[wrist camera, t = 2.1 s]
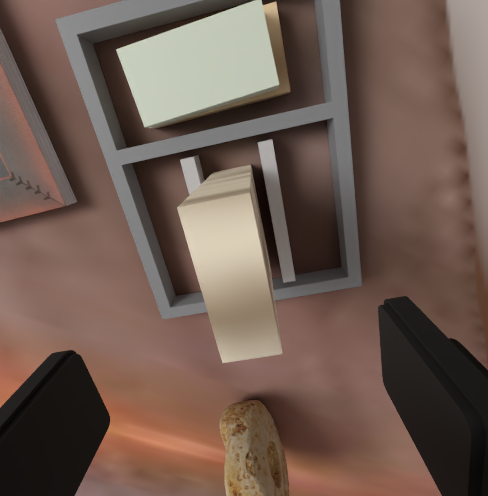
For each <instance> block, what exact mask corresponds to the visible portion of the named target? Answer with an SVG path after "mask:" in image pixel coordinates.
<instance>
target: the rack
mask: <svg viewBox="0 0 488 496" xmlns="http://www.w3.org/2000/svg"><path fill="white" fill-rule="evenodd" d="M251 1H255V0H124V1H120V2H116V3H113V4H109V5H106V6H102V7H99V8H95V9H91V10H88V11H84V12H81V13H77V14H73V15H70V16H66V17H63V18H59V19H56V20H55V21H56V23H57V26H58V29H59V32H60V34H61V37H62V40H63V43H64V46H65V48H66V51H67V54H68V57H69V60H70V62H71V65H72V68H73V71H74V74H75V76H76V79H77V82H78V85H79V87H80V90H81V93H82V96H83V99H84V101H85V104H86V107H87V110H88V113H89V115H90V118H91V121H92V124H93V127H94V129H95V132H96V135H97V138H98V140H99V143H100V146H101V149H102V152H103V154H104V157H105V160H106V163H107V166H108V168H109V171H110V174H111V177H112V180H113V182H114V185H115V188H116V191H117V193H118V196H119V199H120V202H121V205H122V207H123V210H124V213H125V216H126V219H127V221H128V224H129V227H130V230H131V233H132V235H133V238H134V241H135V244H136V246H137V249H138V252H139V255H140V258H141V260H142V263H143V266H144V269H145V272H146V274H147V277H148V280H149V283H150V286H151V288H152V291H153V294H154V297H155V299H156V302H157V305H158V308H159V311H160V313H161V316H162V319H168V318H174V317H180V316H186V315H192V314H198V313H204V312H207V308H206V305H205V301H204V298H203V294H202V291H201V292H195V293H189V294H184V295H178V296H176V295H175V292H174V288H173V285H172V282H171V279H170V276H169V273H168V270H167V267H166V264H165V261H164V258H163V255H162V252H161V249H160V246H159V243H158V240H157V237H156V234H155V231H154V228H153V225H152V222H151V219H150V216H149V213H148V210H147V207H146V203H145V200H144V197H143V194H142V191H141V188H140V185H139V182H138V179H137V176H136V173H135V170H134V167H133V164H132V163H133V162H138V161H142V160H147V159H151V158H156V157H160V156H165V155H169V154H174V153H178V152H183V151H187V150H191V149H196V148H200V147H205V146H209V145H214V144H218V143H223V142H227V141H232V140H236V139H241V138H245V137H250V136H254V135H259V134H263V133H268V132H272V131H277V130H281V129H286V128H290V127H295V126H299V125H304V124H308V123H312V122H317V121H321V120H326V121H327V130H328V140H329V150H330V160H331V169H332V179H333V189H334V199H335V208H336V218H337V228H338V237H339V247H340V257H341V267H338V268H332V269H326V270H321V271H315V272H309V273H303V274H298V275H295V274H294V268H293V262H292V255H291V249H290V243H289V237H288V231H287V225H286V219H285V213H284V207H283V201H282V195H281V189H280V183H279V177H278V171H277V165H276V159H275V152H274V146H273V140H272V139H269V140H264V141H259V142H258V148H259V153H260V159H261V164H262V170H263V175H264V181H265V186H266V192H267V197H268V203H269V208H270V214H271V219H272V225H273V230H274V236H275V241H276V247H277V252H278V258H279V263H280V269H281V274H282V277H281V278H275V279H272V282H273V289H274V297H275V300H281V299H287V298H293V297H299V296H305V295H311V294H317V293H323V292H329V291H335V290H341V289H346V288H352V287H358V286H362V279H361V266H360V253H359V240H358V228H357V215H356V202H355V189H354V176H353V164H352V151H351V138H350V125H349V112H348V100H347V87H346V74H345V61H344V48H343V36H342V23H341V10H340V0H314V4H315V14H316V23H317V33H318V43H319V53H320V62H321V72H322V82H323V91H324V101H325V103H323V104H319V105H314V106H310V107H306V108H301V109H297V110H292V111H288V112H284V113H279V114H275V115H271V116H266V117H262V118H257V119H253V120H249V121H244V122H240V123H236V124H231V125H227V126H222V127H218V128H214V129H209V130H205V131H200V132H196V133H192V134H187V135H183V136H179V137H174V138H170V139H165V140H161V141H157V142H152V143H148V144H144V145H139V146H135V147H130V148H127V146H126V143H125V140H124V137H123V134H122V131H121V128H120V125H119V121H118V118H117V115H116V112H115V109H114V106H113V103H112V100H111V97H110V94H109V91H108V88H107V85H106V82H105V79H104V76H103V73H102V70H101V67H100V64H99V61H98V58H97V55H96V52H95V49H94V46H93V44H94V43H98V42H101V41H105V40H109V39H113V38H116V37H120V36H124V35H128V34H131V33H135V32H139V31H143V30H146V29H150V28H154V27H158V26H161V25H165V24H169V23H173V22H176V21H180V20H184V19H188V18H191V17H195V16H199V15H203V14H206V13H210V12H214V11H218V10H221V9H225V8H229V7H233V6H236V5H240V4H244V3H248V2H251ZM180 162H181V166H182V169H183V173H184V177H185V180H186V184H187V187H188V191H189V195H191V194H192V193H193V192H194V191H195V190H196V189H197V188H198V187H199V186H200V185H201V184H202V183H203V182H204V181H205V179H204V176H203V172H202V168H201V164H200V160H199V156H198V155H196V156H192V157H187V158H184V159H181V160H180Z"/></svg>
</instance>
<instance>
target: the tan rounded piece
mask: <svg viewBox="0 0 488 496" xmlns="http://www.w3.org/2000/svg"><path fill="white" fill-rule="evenodd" d="M220 432H221V436H222V439H223V442H224V445H225V448H226V459H225V489H226V495H227V496H289V481H288V471H287V463H286V459H285V454H284V449H283V446H282V443H281V441H280V438H279V434H278V431H277V428H276V426H275V422H274V420H273V418H272V416H271V415H270V413H269V412H268V410H267V409H266V407H265V406H264V405H263V403H261V402H260V401H258V400H249V401H242V402H238V403H235V404H232V405H230V406H229V407H228V408H226V410H225V411H224V413H223V414H222V416H221V419H220Z"/></svg>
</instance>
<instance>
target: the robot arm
mask: <svg viewBox="0 0 488 496" xmlns="http://www.w3.org/2000/svg"><path fill="white" fill-rule="evenodd" d="M378 314H379V330H380V346H381V361H382V377H383V382H384V386H385V388H386V391H387V393H388V395H389V396H390V398H391V400H392V402H393V404H394V406H395V408H396V410H397V412H398V413H399V415H400V417H401V419H402V421H403V423H404V425H405V427H406V429H407V430H408V432H409V434H410V436H411V438H412V440H413V442H414V444H415V446H416V447H417V449H418V451H419V453H420V455H421V457H422V459H423V461H424V463H425V464H426V466H427V468H428V470H429V472H430V474H431V476H432V478H433V480H434V481H435V483H436V485H437V487H438V489H439V491H440V493H441V495H442V496H488V370H487V369H486V368H485V367H484V366H483V365H482V364H481V363H480V362H479V361H478V360H477V359H476V358H475V357H474V356H473V355H472V354H471V353H470V352H469V351H468V350H467V349H466V348H465V347H464V346H463V345H462V344H461V343H459V342H458V341H457V340H455V339H452V338H450V339H448V338H447V337H446V336H445V335H444V334H443V333H442V332H441V331H440V329H439V328H438V327H437V326H436V325H435V324H434V323H433V322H432V321H431V320H430V319H429V318H428V317H427V316H426V315H425V314H424V313H423V312H422V311H421V310H420V309H419V308H418V307H417V306H416V305H415V304H414V303H413V302H412V301H411V300H410V299H409V298H408V297H407V296H403V297H397V298H391V299H385V300H384V305H380V306H379V307H378ZM109 424H110V416H109V413H108V411H107V409H106V407H105V405H104V403H103V400H102V398H101V396H100V394H99V392H98V390H97V388H96V386H95V384H94V382H93V380H92V378H91V376H90V374H89V372H88V369H87V367H86V365H85V363H84V361H83V359H82V357H81V356H80V355H79V354H77V353H76V352H75V351H73V350H68V351H62V352H56V353H52V354H51V355H50V356H49V357H48V358H47V359H46V360H45V361H44V362H43V363H42V364H41V365H40V366H39V367H38V368H37V369H36V370H35V372H34V373H33V374H32V375H31V376H30V377H29V378H28V379H27V380H26V381H25V382H24V383H23V384H22V385H21V386H20V388H19V389H18V390H17V391H16V392H15V393H14V394H13V395H12V396H11V397H10V398H9V399H8V400H7V401H6V402H5V403H4V405H3V406H2V407H1V408H0V496H75V494H76V492H77V490H78V488H79V486H80V484H81V482H82V480H83V478H84V476H85V474H86V472H87V470H88V468H89V466H90V464H91V462H92V460H93V458H94V456H95V454H96V452H97V450H98V448H99V446H100V444H101V442H102V440H103V438H104V436H105V434H106V432H107V430H108V427H109Z"/></svg>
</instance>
